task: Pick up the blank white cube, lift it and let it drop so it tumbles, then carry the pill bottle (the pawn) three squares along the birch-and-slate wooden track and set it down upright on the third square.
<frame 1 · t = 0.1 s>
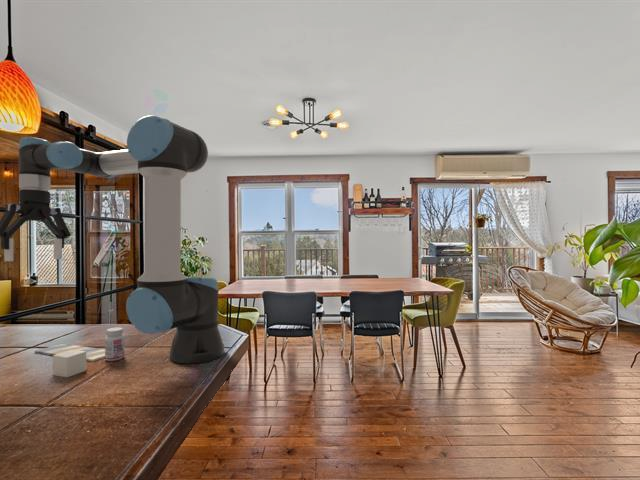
hand: (34, 260, 108), 28 cm above the table, fingers open, 13 cm apart
blank white cube: (69, 373, 91), on the table
track: (76, 353, 107), on the table
pill bottle: (114, 358, 102), on the table
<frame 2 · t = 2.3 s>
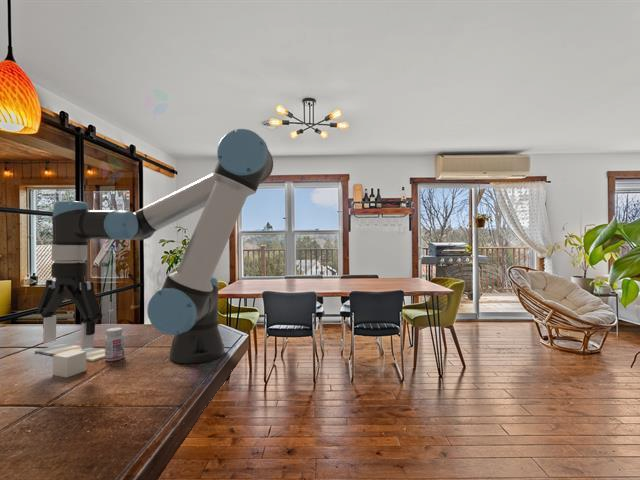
hand: (67, 344, 91), 7 cm above the table, fingers open, 13 cm apart
nothing on the table moved.
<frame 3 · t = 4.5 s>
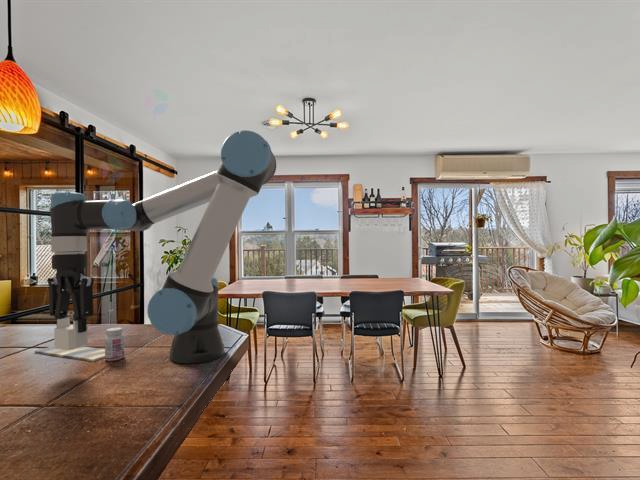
hand: (71, 344, 91), 7 cm above the table, fingers closed on blank white cube, 5 cm apart
blank white cube: (71, 346, 91), point 7 cm above the table, touching gripper
everything else where it was.
when the fingers open (9 cm above the table, at t = 4.8 s): blank white cube drops 8 cm, on the table.
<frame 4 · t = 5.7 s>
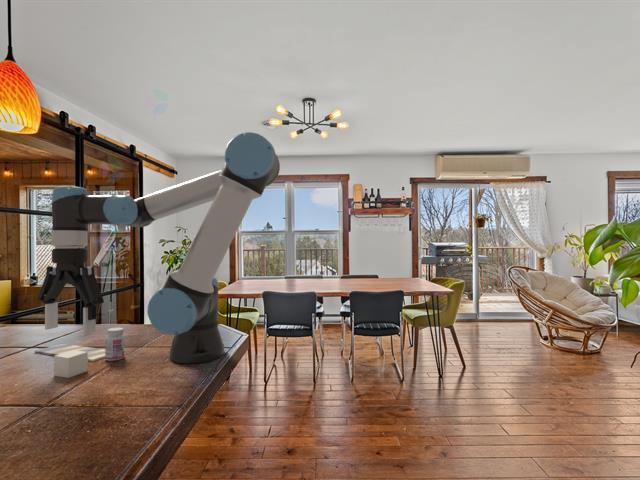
hand: (69, 330, 91), 11 cm above the table, fingers open, 13 cm apart
blank white cube: (71, 373, 90), on the table
everything else where it was.
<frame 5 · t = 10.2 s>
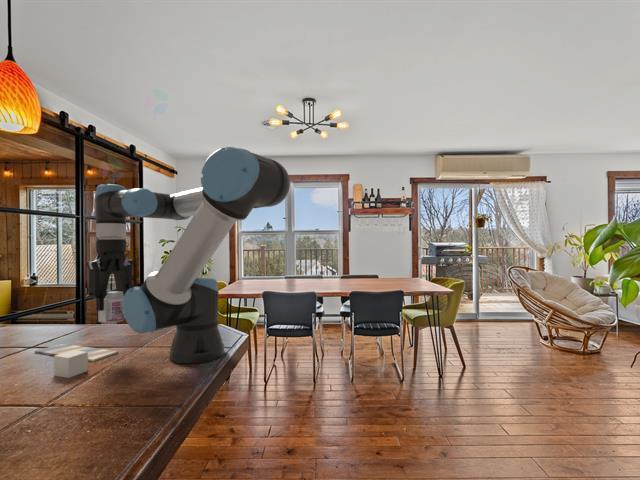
hand: (111, 319, 102), 11 cm above the table, fingers closed on pill bottle, 5 cm apart
pill bottle: (114, 322, 102), point 10 cm above the table, touching gripper
everything else where it was.
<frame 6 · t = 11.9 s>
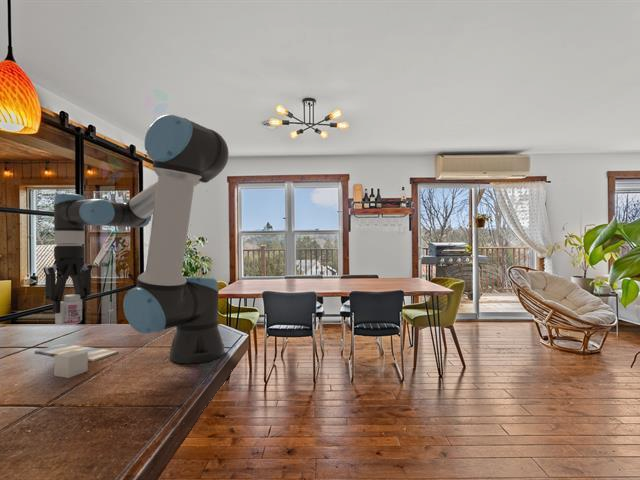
hand: (69, 321, 108), 9 cm above the table, fingers closed on pill bottle, 5 cm apart
pill bottle: (71, 323, 107), point 9 cm above the table, touching gripper
everything else where it was.
when the fingers open (1 cm above the table, at t = 13.6 s): pill bottle stays where it is, resting on track.
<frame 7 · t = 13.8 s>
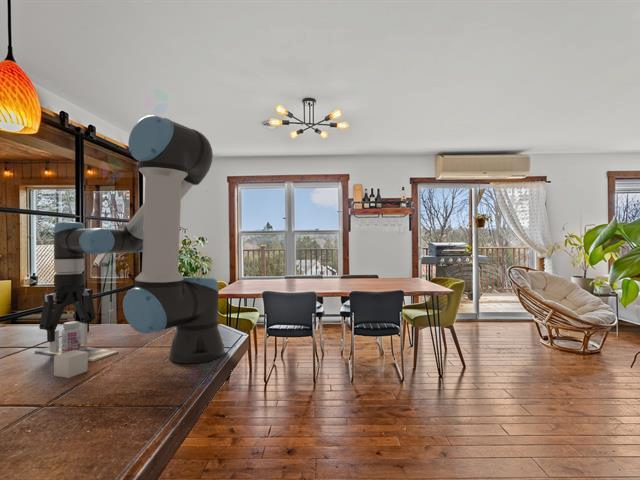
hand: (69, 347, 108), 1 cm above the table, fingers open, 8 cm apart
pill bottle: (71, 351, 107), resting on track
everything else where it was.
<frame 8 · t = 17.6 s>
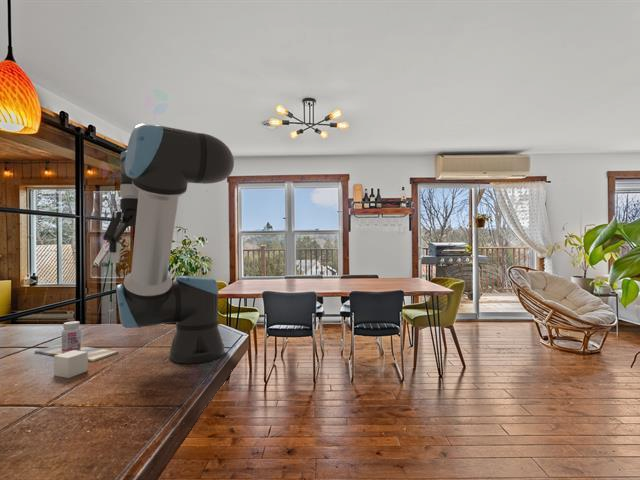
hand: (132, 261, 119), 27 cm above the table, fingers open, 13 cm apart
nothing on the table moved.
at the end: pill bottle inside the target area (1.0 cm from its centre), resting on track; pill bottle tilted 0°; blank white cube on the table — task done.
